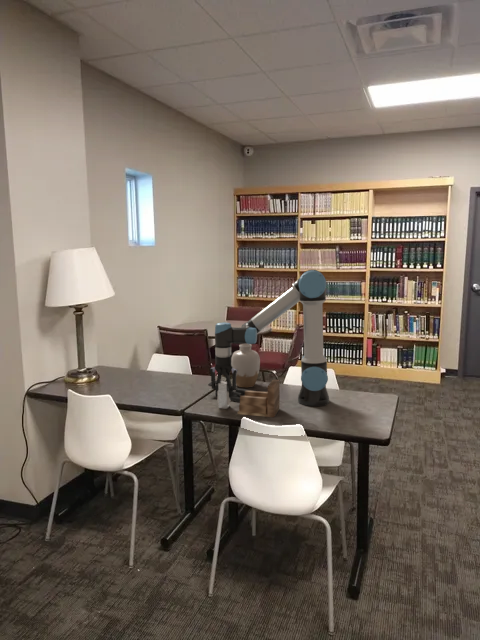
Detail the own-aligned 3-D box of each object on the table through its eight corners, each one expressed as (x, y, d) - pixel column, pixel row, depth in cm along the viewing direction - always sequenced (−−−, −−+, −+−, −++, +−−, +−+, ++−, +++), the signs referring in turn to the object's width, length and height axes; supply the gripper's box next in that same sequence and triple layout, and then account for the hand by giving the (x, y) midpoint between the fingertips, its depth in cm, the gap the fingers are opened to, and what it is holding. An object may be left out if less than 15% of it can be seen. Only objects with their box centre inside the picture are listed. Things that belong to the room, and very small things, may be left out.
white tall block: (229, 406, 227) (229, 381, 226) (226, 408, 224) (226, 384, 222) (221, 405, 228) (221, 381, 227) (218, 408, 225) (218, 383, 223)
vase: (262, 388, 257) (262, 346, 254) (234, 390, 254) (233, 348, 251) (256, 380, 272) (256, 341, 269) (229, 382, 269) (228, 342, 266)
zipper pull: (216, 379, 250) (257, 386, 237) (216, 391, 251) (257, 399, 238) (206, 383, 243) (247, 391, 229) (206, 396, 244) (247, 404, 230)
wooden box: (279, 408, 223) (279, 379, 221) (274, 417, 211) (274, 386, 209) (244, 405, 227) (244, 377, 225) (237, 414, 216) (237, 384, 214)
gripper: (243, 354, 224) (243, 402, 227) (208, 353, 228) (209, 400, 232) (238, 358, 217) (239, 407, 220) (203, 356, 221) (204, 404, 225)
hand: (224, 403), depth 226 cm, fingers closed on white tall block, 4 cm apart
